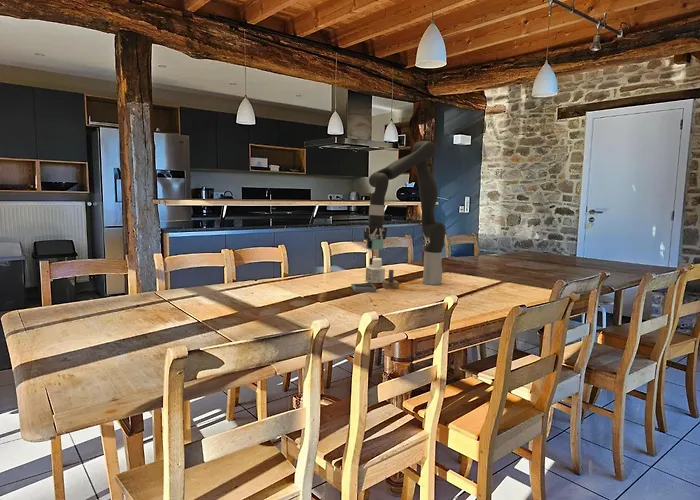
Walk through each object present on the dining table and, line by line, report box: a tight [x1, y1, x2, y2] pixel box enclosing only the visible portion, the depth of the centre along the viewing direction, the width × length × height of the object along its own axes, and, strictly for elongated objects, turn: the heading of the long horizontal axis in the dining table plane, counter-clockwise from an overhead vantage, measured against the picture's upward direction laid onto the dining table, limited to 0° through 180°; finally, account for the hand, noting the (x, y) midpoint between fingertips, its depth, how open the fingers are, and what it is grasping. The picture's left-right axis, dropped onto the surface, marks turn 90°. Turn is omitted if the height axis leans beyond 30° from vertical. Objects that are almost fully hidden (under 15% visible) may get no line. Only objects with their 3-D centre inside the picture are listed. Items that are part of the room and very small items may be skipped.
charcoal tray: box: [350, 283, 377, 293], centre depth 237 cm, size 11×11×2 cm
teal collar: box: [365, 237, 384, 251], centre depth 237 cm, size 6×6×5 cm
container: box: [365, 256, 386, 284], centre depth 257 cm, size 8×8×13 cm
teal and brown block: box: [381, 269, 400, 290], centre depth 244 cm, size 7×7×9 cm
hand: (374, 248), depth 237 cm, fingers closed on teal collar, 5 cm apart
